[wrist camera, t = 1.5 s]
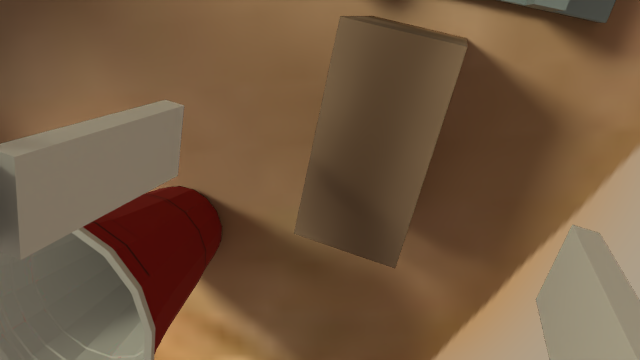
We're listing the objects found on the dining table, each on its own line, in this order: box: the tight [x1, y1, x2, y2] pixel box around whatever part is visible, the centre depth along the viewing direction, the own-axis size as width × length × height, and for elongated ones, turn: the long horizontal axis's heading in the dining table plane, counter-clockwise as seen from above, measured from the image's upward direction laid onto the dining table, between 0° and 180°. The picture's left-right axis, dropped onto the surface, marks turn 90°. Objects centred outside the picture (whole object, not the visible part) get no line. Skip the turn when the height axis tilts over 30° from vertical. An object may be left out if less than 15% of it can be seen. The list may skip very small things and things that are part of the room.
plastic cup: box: [0, 186, 222, 360], centre depth 27 cm, size 11×11×12 cm
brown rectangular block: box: [294, 16, 467, 268], centre depth 22 cm, size 5×10×7 cm, turn 168°
